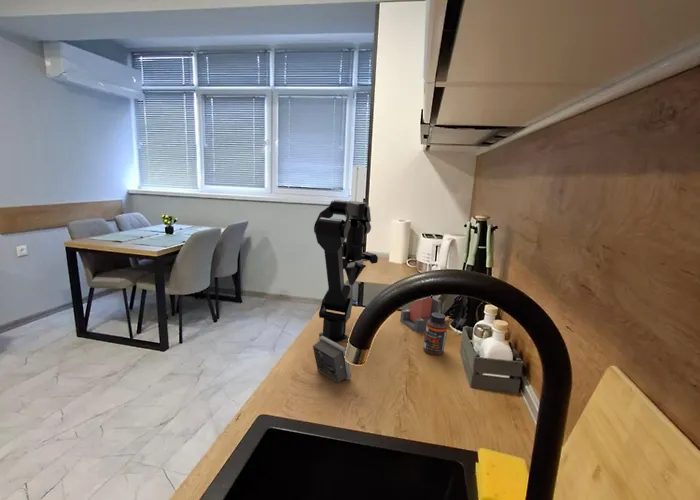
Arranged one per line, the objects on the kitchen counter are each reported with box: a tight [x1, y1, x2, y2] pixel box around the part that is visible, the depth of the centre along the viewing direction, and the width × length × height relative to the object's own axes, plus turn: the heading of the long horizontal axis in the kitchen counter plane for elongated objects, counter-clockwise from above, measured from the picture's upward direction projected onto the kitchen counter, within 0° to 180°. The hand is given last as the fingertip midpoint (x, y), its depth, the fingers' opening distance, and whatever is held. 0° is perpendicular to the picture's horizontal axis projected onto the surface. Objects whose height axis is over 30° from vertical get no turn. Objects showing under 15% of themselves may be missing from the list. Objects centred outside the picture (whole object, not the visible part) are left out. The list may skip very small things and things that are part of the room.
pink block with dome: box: [409, 296, 434, 322], centre depth 128 cm, size 4×6×11 cm
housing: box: [399, 296, 442, 333], centre depth 129 cm, size 8×10×10 cm
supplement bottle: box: [422, 312, 448, 355], centre depth 111 cm, size 6×6×11 cm
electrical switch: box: [312, 336, 352, 384], centre depth 93 cm, size 9×5×9 cm, turn 45°
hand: (351, 284), depth 128 cm, fingers closed
